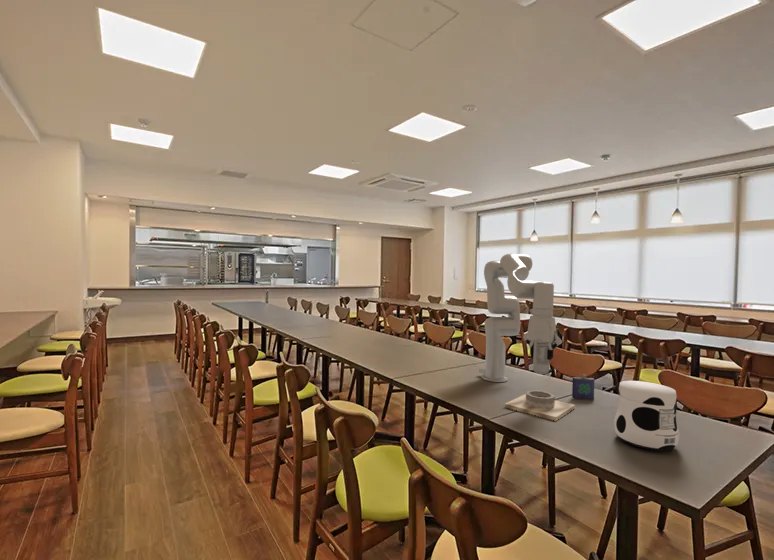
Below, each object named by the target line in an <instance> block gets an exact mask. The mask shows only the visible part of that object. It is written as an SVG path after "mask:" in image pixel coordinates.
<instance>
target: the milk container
mask: <svg viewBox="0 0 774 560" xmlns="http://www.w3.org/2000/svg"><path fill="white" fill-rule="evenodd" d="M677 400H678V398H677V391H676V389H674V388H672V387H671V386H666V385H663V384H658V383H655V382H649V381H648V382H647V381H641V380H622V381H620V382H619V386H618V395H617V410H616V413H615V416H614V419H613V425H614V426H613V427H614V432H615V435H617V438H619V439H620V440H622V441H624V442H625V443H627V444H629V445H633V446H634V447H637V448H642V449H646V450H652V451H662V452H663V451H669V450H673V449H676V447H677V446H678V443H679V440H680V430H679V427H678V422H677V411H678V409H677V408H678V405H677V402H678V401H677Z"/></svg>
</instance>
